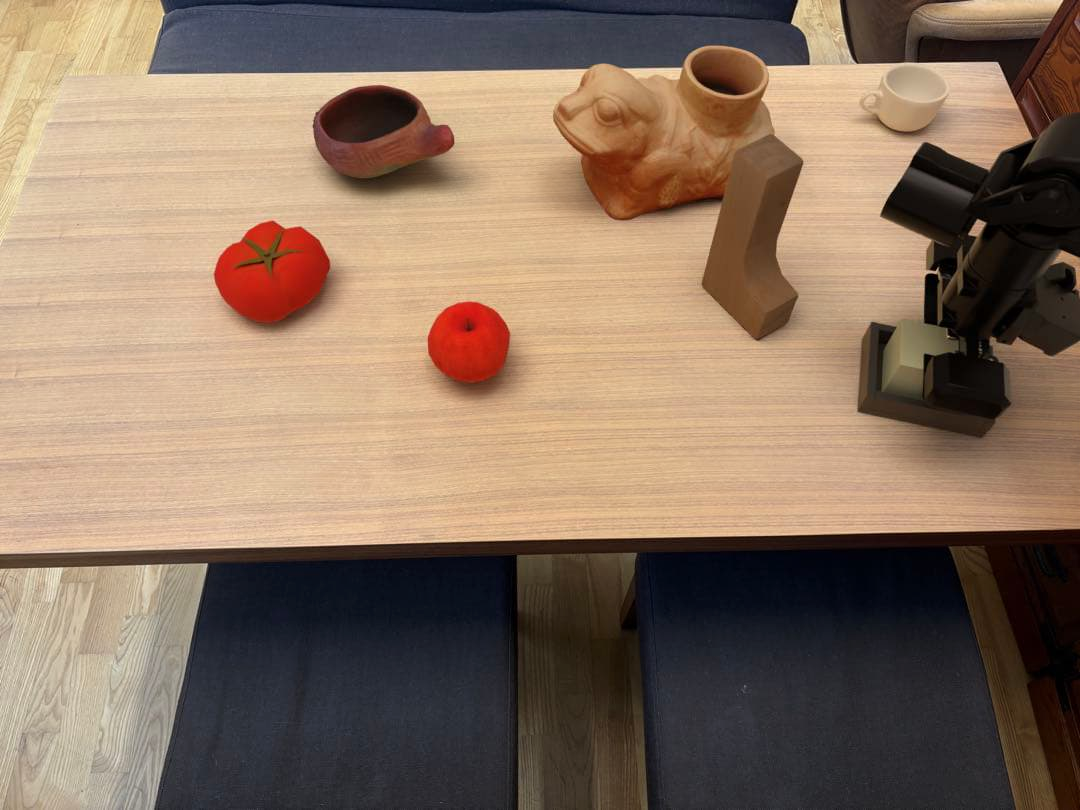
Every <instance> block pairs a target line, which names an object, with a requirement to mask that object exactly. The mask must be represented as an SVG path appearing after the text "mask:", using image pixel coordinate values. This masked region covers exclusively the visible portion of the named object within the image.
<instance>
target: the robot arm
mask: <svg viewBox="0 0 1080 810" xmlns="http://www.w3.org/2000/svg"><path fill="white" fill-rule="evenodd" d="M879 217H880V218H882V219H883V220H886V221H888V222H890V223H893V224H895V225H897V226H899V227H902V228H904V229H906V230H909V231H910V232H912V233H915V234H917V235H920V236H922V237H923V238H926V239H928V240H931V241H930V243H929V245H928V246H927V248H926V250H925V259H926V260H925V270H926V271H931V272H929V273H926V274H925V275H924V281H923V282H924V284H923V285H924V286H923V289H924V290H923V323H925V324H930V325H935V326H938V327H943V328H946V338H947V339H949V340H953V341H958V351H957V350H954V352H953V353H952V352H947V353H943V354H939V355H936V356H935V355H930V354H925V353H924V355H923V397H922V398H923V400H925V401H926V402H927V403H928V404H929V405H930V406H931V407H934V408H938V409H943V410H948V411H953V412H958V413H962V414H967V415H972V416H977V417H981V418H986V419H991V420H995V419H996V420H997V419H999V418H1000V417H1002V416H1003V414H1004V413H1005V412H1006V411H1007V410H1008V408H1009V407H1010V406H1011V405H1012V390H1011V373H1010V370H1009V368H1008V367H1007V366H1006V365H1005V363H1004V362H1002V361H999V359H998V357H997V356H995V355H994V354H993V355H992V354H991V353H990V345H991V340H990V339H991V338H995V342H996V343H998V344H1002V345H1007V346H1012V345H1013V344H1014V342H1015V341H1016V340H1017V338H1018V339H1019V340H1020V341H1022V342H1024V343H1026V344H1028V345H1030V346H1032V347H1033V348H1036V349H1038V350H1040V351H1042V352H1043V354H1044V355H1046V356H1049V357H1055V356H1057V355H1058V354H1060V353H1061V352H1063V351H1065V350H1067V349H1069V348H1070V347H1072V346H1074V345H1076V344H1077V343H1079V342H1080V290H1078V289H1076V286H1077V282H1078V281H1077V280H1078V279H1077V272H1076V268H1075V267H1074V266H1072V265H1070V264H1068V263H1066V262H1064V261H1061V262H1058V263H1057V262H1056V263H1054V262H1055V260H1056V259H1057V258H1058V257H1059V256H1060V254H1061V253H1062V251H1063V252H1064V253H1067V254H1069V255H1072V256H1074V257H1077V258H1079V259H1080V112H1079V111H1078V112H1073V113H1069V114H1065V115H1062V116H1060V117H1058V118H1055V119H1054V120H1053V121H1052V122H1051V123H1050V124H1049V125H1048V126H1047V127H1045V129H1044V130H1043V131H1042V132H1041V133H1040V135H1038V136H1035V137H1033V138H1031V139H1029V140H1025V141H1023V142H1021V143H1018V144H1016V145H1014V146H1012V147H1009V148H1007V149H1004V150H1002V151H1000V153H999V154H998V155H997V157H996V159H995V161H994V162H993V164H992V165H991V167H990V169H987V168H985V167H982V166H979V165H977V164H975V163H973V162H970V161H967V160H965V159H963V158H960V157H958V156H957V155H956V156H955V155H953V154H951V153H949V152H947V151H946V150H944V149H943V148H941V147H940V146H937V145H936V144H934V143H931V142H928V141H924V142H922V143H921V145H920V146H919V148H918V149H917V150H916V152H915V153H914V155H913V157H912V158H911V161H910V162H909V165H908V166H907V168H906V169H905V171H904V173H903V175H902V176H901V178H900V179H899V181H898V182H897V184H895V187H894V188H893V190H892V191H891V192H890V194H889V195H888V197H887V198H886V201H885V203H884V204H883V208H882V209H881V211H880V214H879ZM977 221H981V222H983V223H985V224H984V226H983V227H982V229H980V232H979V233H978V235H977V236H976V235H972V234H970V233H971V232H972V229H973V227H974V226H975V224H976V222H977ZM1053 263H1054V264H1053ZM933 272H934V273H933ZM935 272H936V273H935ZM979 356H980V357H979Z"/></svg>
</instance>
